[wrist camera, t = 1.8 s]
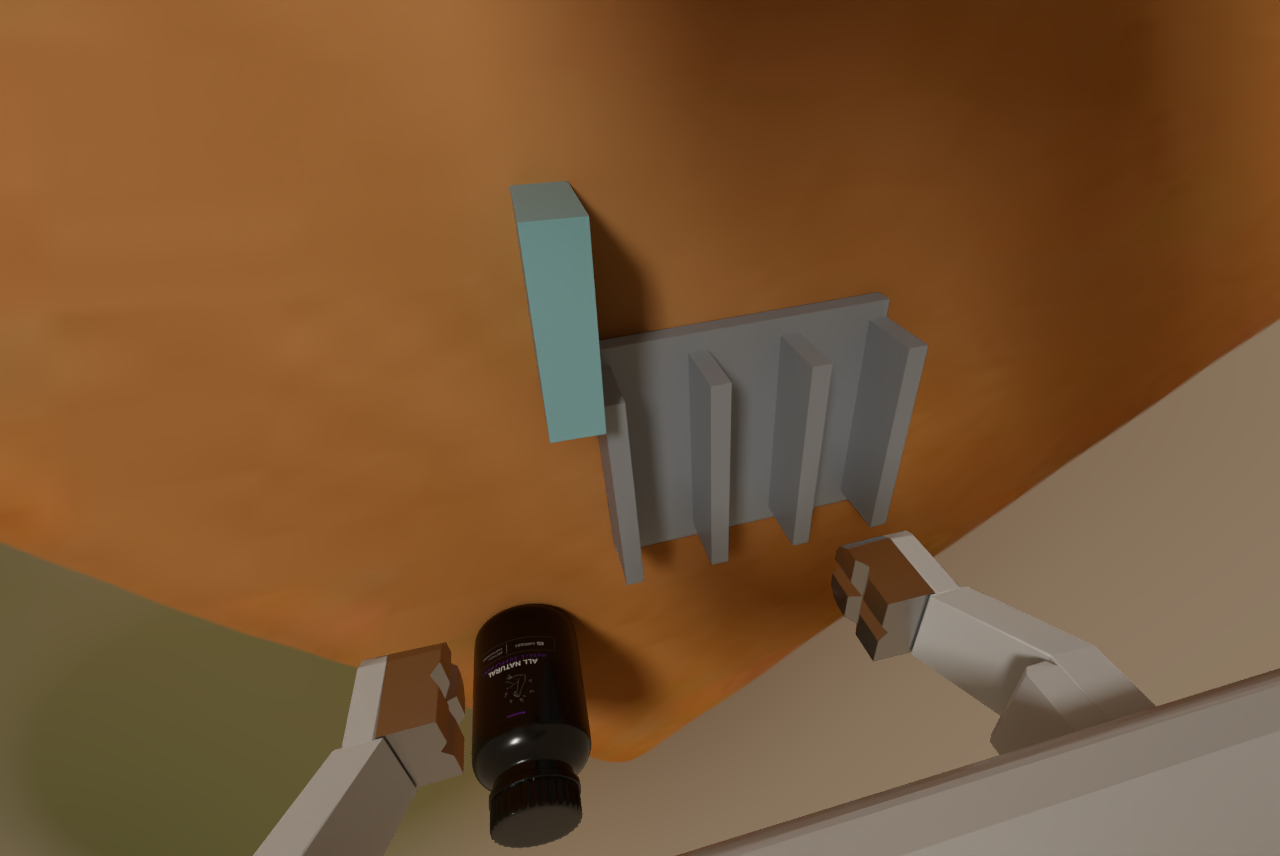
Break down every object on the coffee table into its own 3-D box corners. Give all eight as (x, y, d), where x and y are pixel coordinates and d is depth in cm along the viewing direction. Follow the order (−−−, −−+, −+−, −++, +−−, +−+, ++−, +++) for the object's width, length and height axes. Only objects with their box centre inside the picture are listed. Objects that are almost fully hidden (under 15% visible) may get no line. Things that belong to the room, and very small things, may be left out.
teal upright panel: (509, 185, 24) (517, 222, 19) (566, 180, 24) (588, 215, 19) (538, 375, 29) (550, 442, 24) (585, 368, 29) (606, 433, 24)
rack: (584, 342, 28) (600, 387, 25) (879, 292, 31) (932, 326, 27) (613, 540, 36) (628, 596, 33) (844, 488, 39) (882, 535, 35)
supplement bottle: (513, 587, 37) (525, 783, 27) (593, 618, 40) (630, 802, 31) (452, 649, 39) (443, 854, 29) (534, 674, 42) (551, 863, 32)
